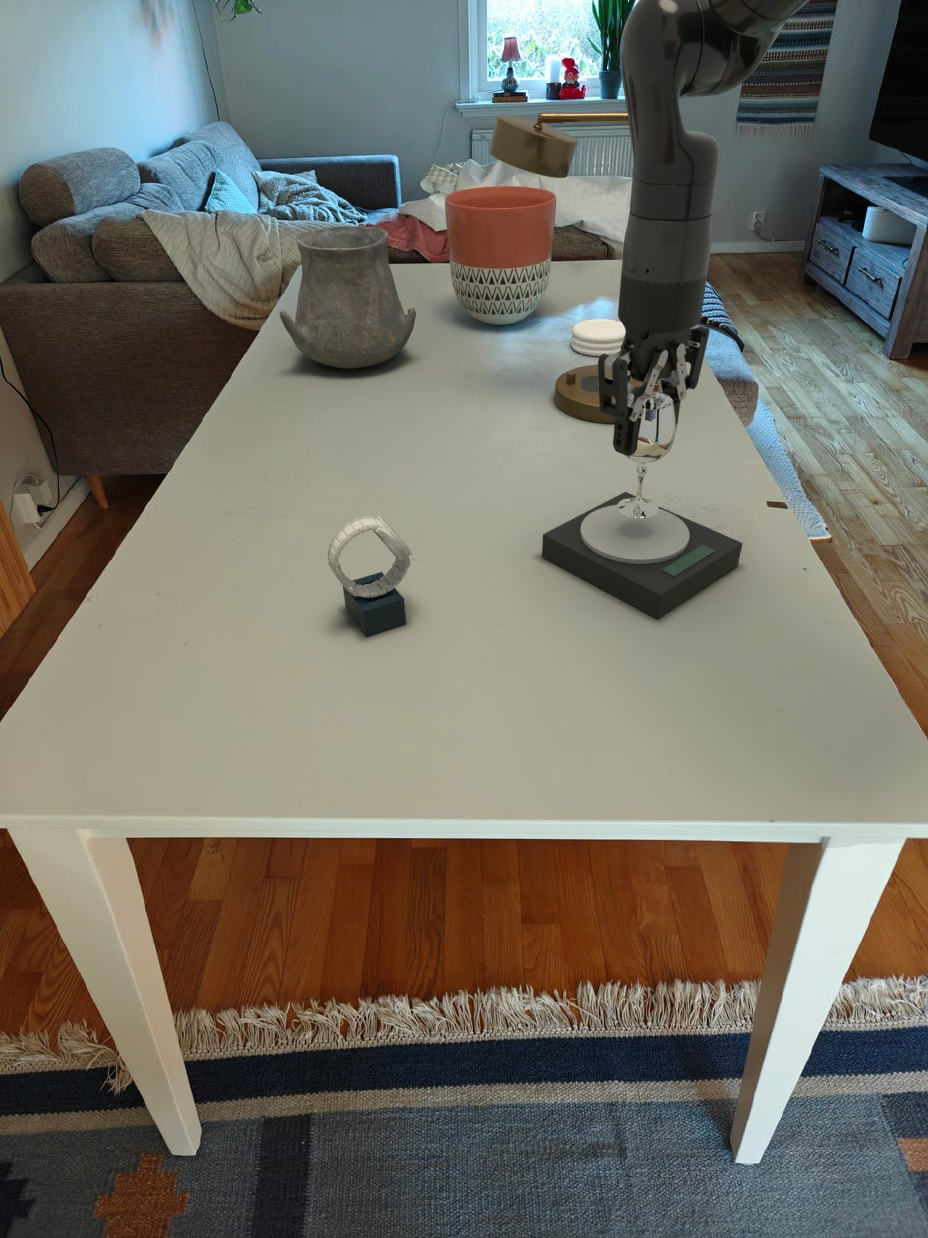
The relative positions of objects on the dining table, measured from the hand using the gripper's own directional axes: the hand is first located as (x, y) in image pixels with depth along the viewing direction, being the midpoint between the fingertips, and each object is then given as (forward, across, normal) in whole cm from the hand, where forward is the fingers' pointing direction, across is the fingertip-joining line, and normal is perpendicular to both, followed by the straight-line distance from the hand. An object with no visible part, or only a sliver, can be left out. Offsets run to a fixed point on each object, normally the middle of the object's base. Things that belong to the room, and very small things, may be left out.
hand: (645, 442), depth 86 cm
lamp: (+14, +29, +34) cm, 47 cm away
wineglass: (+8, 0, 0) cm, 8 cm away
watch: (+14, -27, +11) cm, 32 cm away
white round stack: (+14, +49, +47) cm, 69 cm away
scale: (+14, 0, -1) cm, 14 cm away
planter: (+14, +47, +70) cm, 86 cm away
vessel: (+14, +16, +74) cm, 77 cm away
